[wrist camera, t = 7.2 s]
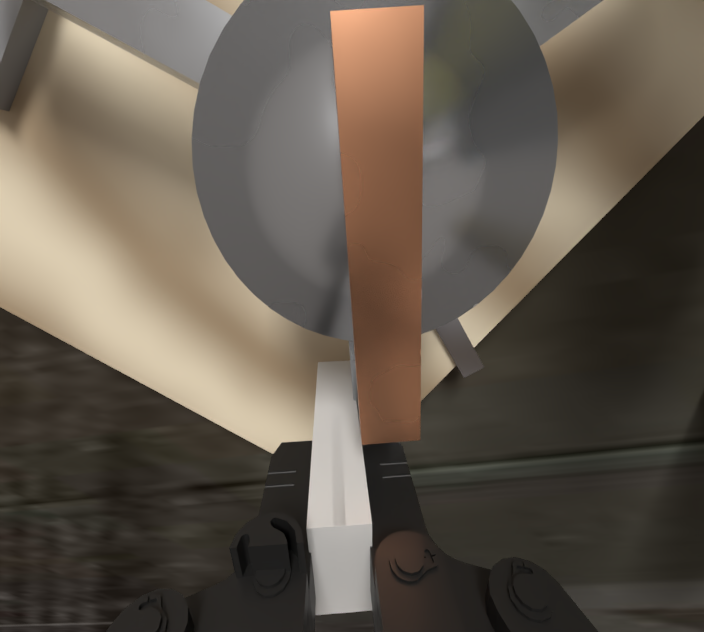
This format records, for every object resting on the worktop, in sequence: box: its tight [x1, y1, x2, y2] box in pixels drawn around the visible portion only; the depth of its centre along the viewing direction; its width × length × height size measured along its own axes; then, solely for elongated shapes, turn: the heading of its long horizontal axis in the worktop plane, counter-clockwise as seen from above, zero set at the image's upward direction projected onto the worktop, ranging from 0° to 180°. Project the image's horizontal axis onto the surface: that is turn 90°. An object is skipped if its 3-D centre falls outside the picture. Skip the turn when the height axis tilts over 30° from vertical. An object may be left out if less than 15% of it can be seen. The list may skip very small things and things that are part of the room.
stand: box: [0, 0, 704, 454], centre depth 11 cm, size 26×23×4 cm
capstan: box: [32, 0, 603, 445], centre depth 9 cm, size 17×20×7 cm
